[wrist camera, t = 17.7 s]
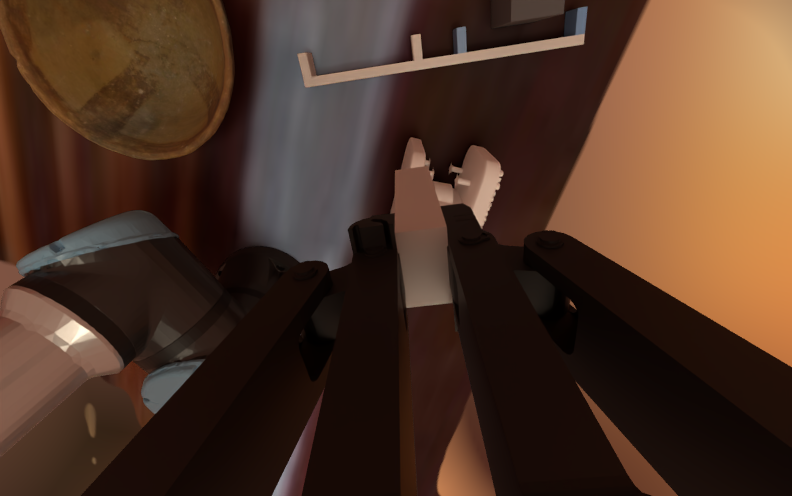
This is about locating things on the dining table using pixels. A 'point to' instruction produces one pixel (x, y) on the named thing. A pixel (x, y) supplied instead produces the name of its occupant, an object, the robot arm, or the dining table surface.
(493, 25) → the dark brown block
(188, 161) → the dining table surface
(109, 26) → the bowl
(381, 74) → the slotted rail
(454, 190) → the cable organizer
